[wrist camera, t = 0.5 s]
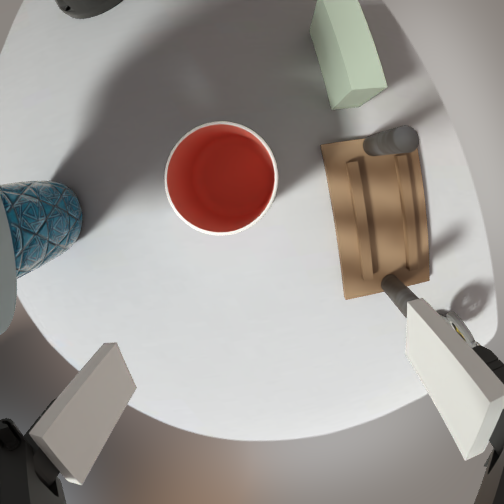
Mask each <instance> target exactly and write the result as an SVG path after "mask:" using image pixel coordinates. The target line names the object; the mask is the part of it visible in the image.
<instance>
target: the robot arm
mask: <svg viewBox="0 0 504 504" xmlns="http://www.w3.org/2000/svg"><path fill="white" fill-rule="evenodd" d="M55 1H56V3H57V5H58V6H59V8H60V9H61V10H62V11H63V12H64V13H66V14H67V15H69V16H71V17H73V18H77V19H84V18H90V17H93V16H96V15H99V14H101V13H103V12H105V11H107V10H109V9H111V8H112V7H114V6H115V5H117V4H118V3H120V2H121V1H122V0H55ZM405 355H406V357H407V359H408V360H409V362H410V363H411V365H412V367H413V368H414V370H415V372H416V373H417V375H418V377H419V378H420V380H421V382H422V383H423V385H424V387H425V388H426V390H427V392H428V394H429V395H430V397H431V399H432V400H433V402H434V404H435V405H436V407H437V409H438V411H439V413H440V414H441V416H442V418H443V420H444V422H445V424H446V425H447V427H448V429H449V431H450V433H451V435H452V436H453V438H454V440H455V442H456V444H457V446H458V448H459V450H460V452H461V454H462V456H463V457H464V460H467V459H470V458H472V457H474V456H476V455H478V454H480V453H482V452H484V450H485V448H486V446H487V444H488V442H489V441H490V443H491V444H492V446H493V447H494V449H493V450H492V452H491V454H490V456H489V458H488V459H487V461H486V463H485V465H484V466H487V468H486V472H485V475H484V478H483V481H482V484H481V487H480V489H479V492H478V495H477V497H476V500H475V503H474V504H504V364H503V363H502V362H501V361H500V360H498V358H497V356H496V355H494V353H493V352H492V351H491V350H489V349H487V348H485V347H483V346H481V345H478V346H476V347H473V348H471V347H470V346H469V345H468V344H467V343H466V342H465V341H464V339H463V338H462V337H461V336H460V335H459V334H458V333H457V332H456V331H455V330H454V329H453V328H452V327H451V326H450V325H449V324H448V323H447V322H446V321H445V320H444V319H443V318H442V317H441V316H440V315H439V314H438V313H437V312H436V311H435V310H434V309H433V308H432V307H431V306H430V305H429V304H428V303H427V302H426V301H425V300H424V299H423V298H421V299H416V300H412V301H408V302H407V329H406V348H405ZM136 388H137V387H136V385H135V383H134V381H133V379H132V376H131V374H130V372H129V370H128V368H127V365H126V363H125V361H124V359H123V356H122V354H121V352H120V349H119V347H118V344H117V343H104V344H103V345H102V346H101V347H100V348H99V350H98V351H97V352H96V353H95V354H94V355H93V356H92V358H91V359H90V360H89V361H88V362H87V363H86V365H85V366H84V367H83V368H82V369H81V370H80V371H79V373H78V374H77V375H76V376H75V377H74V379H73V380H72V381H71V382H70V383H69V384H68V386H67V387H66V388H65V389H64V390H63V392H62V393H61V394H60V395H59V396H58V397H57V398H56V399H54V400H53V401H52V402H51V403H50V404H49V406H48V407H47V408H46V410H45V411H44V412H43V413H42V414H41V416H40V417H39V418H38V419H37V420H36V421H35V423H34V424H33V425H32V426H31V428H30V429H29V430H28V431H27V433H26V434H25V435H24V436H23V435H22V433H21V432H20V431H19V429H18V428H17V426H16V425H15V424H14V422H13V421H12V420H11V419H7V418H6V419H2V420H0V504H66V500H65V497H64V492H63V489H62V484H61V481H60V479H59V478H58V477H57V476H58V474H59V472H60V473H61V474H62V475H63V476H64V477H65V478H66V479H67V480H68V481H69V482H73V483H76V484H79V485H83V482H84V481H85V479H86V477H87V475H88V473H89V472H90V470H91V468H92V466H93V464H94V462H95V460H96V459H97V457H98V455H99V453H100V451H101V450H102V448H103V446H104V444H105V442H106V441H107V439H108V437H109V435H110V434H111V432H112V430H113V428H114V426H115V425H116V423H117V421H118V419H119V417H120V416H121V414H122V412H123V411H124V409H125V407H126V405H127V404H128V402H129V400H130V398H131V397H132V395H133V393H134V392H135V390H136Z"/></svg>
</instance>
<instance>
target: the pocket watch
mask: <svg viewBox="0 0 504 504" xmlns="http://www.w3.org/2000/svg"><path fill="white" fill-rule="evenodd" d="M440 316H441V317H442V318H443V319H444V320H445V321H446V322H447V323H448V324H449V325H450V326H451V327H452V328H453V329H454V330H455V331H456V332H457V333H458V334H459V335H460V336H461V337H462V338H463V339H464V341H465V342H466V343H467V344H468V345H469V346H470V347H471V348H473V347H476V346H478V345H480V344H479V343H478V342H475V340H474V338H473V336H472V334H471V332H470V331H469V329H468V328H467V326H466V325H465V324H464V322H463V321H462V320H461V319H460V318H459V317H458V316H457V315H456V314H455V313H454V312H452V311H450V312H448V313H447V314H446V316H447V317H445V316H443V315H440ZM477 344H478V345H477Z"/></svg>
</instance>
